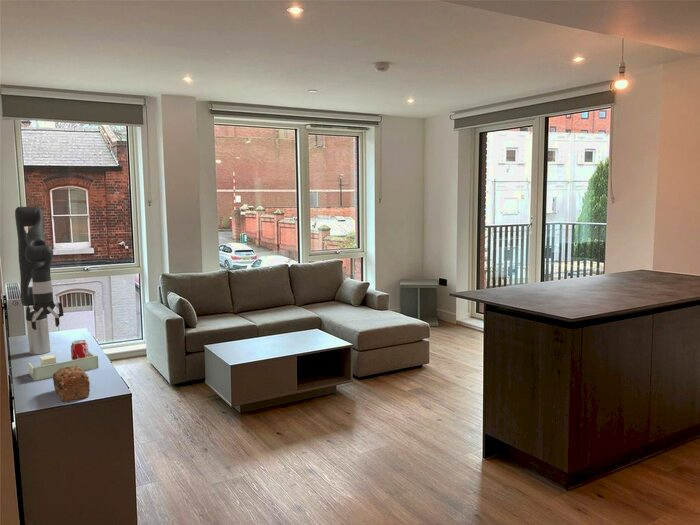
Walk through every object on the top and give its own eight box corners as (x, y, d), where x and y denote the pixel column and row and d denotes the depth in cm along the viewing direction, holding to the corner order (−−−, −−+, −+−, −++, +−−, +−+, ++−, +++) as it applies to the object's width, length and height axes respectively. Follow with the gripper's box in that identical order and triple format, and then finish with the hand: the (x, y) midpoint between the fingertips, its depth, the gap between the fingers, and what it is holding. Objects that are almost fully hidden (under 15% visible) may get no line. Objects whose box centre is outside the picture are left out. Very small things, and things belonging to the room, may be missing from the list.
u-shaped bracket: (28, 373, 243) (27, 361, 243) (90, 361, 260) (89, 350, 259) (34, 380, 234) (33, 368, 233) (98, 367, 250) (97, 355, 249)
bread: (91, 397, 213) (89, 372, 212) (60, 404, 207) (58, 378, 205) (82, 384, 228) (80, 361, 227) (52, 390, 222) (50, 366, 220)
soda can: (82, 370, 247) (80, 344, 245) (68, 369, 248) (66, 343, 247) (93, 365, 254) (90, 339, 252) (79, 364, 255) (77, 339, 254)
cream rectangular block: (41, 373, 244) (39, 356, 243) (54, 370, 247) (52, 354, 246) (44, 376, 239) (42, 359, 238) (57, 374, 242) (55, 357, 241)
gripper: (58, 288, 247) (62, 323, 249) (22, 292, 238) (25, 329, 240) (62, 290, 241) (65, 326, 243) (25, 294, 232) (29, 332, 234)
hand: (46, 328), depth 241 cm, fingers open, 8 cm apart
